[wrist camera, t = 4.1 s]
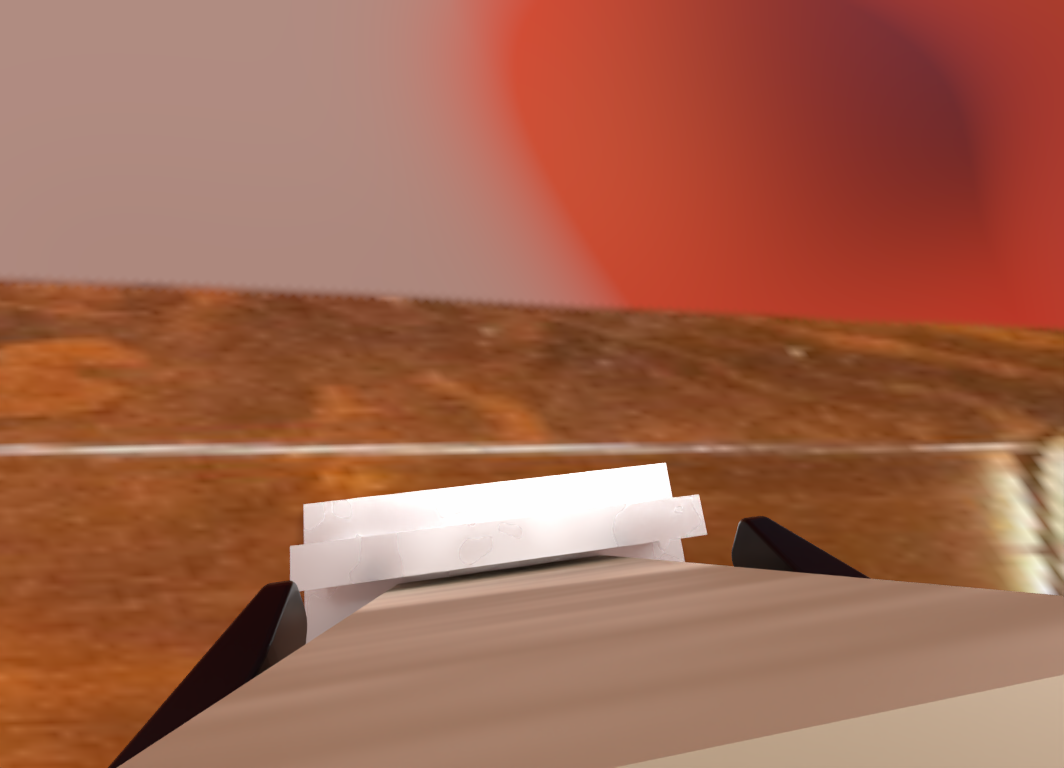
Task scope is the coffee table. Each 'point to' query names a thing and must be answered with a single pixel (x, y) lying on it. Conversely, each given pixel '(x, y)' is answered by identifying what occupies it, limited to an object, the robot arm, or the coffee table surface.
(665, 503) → the rack
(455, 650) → the birch board
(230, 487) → the coffee table surface
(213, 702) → the robot arm
